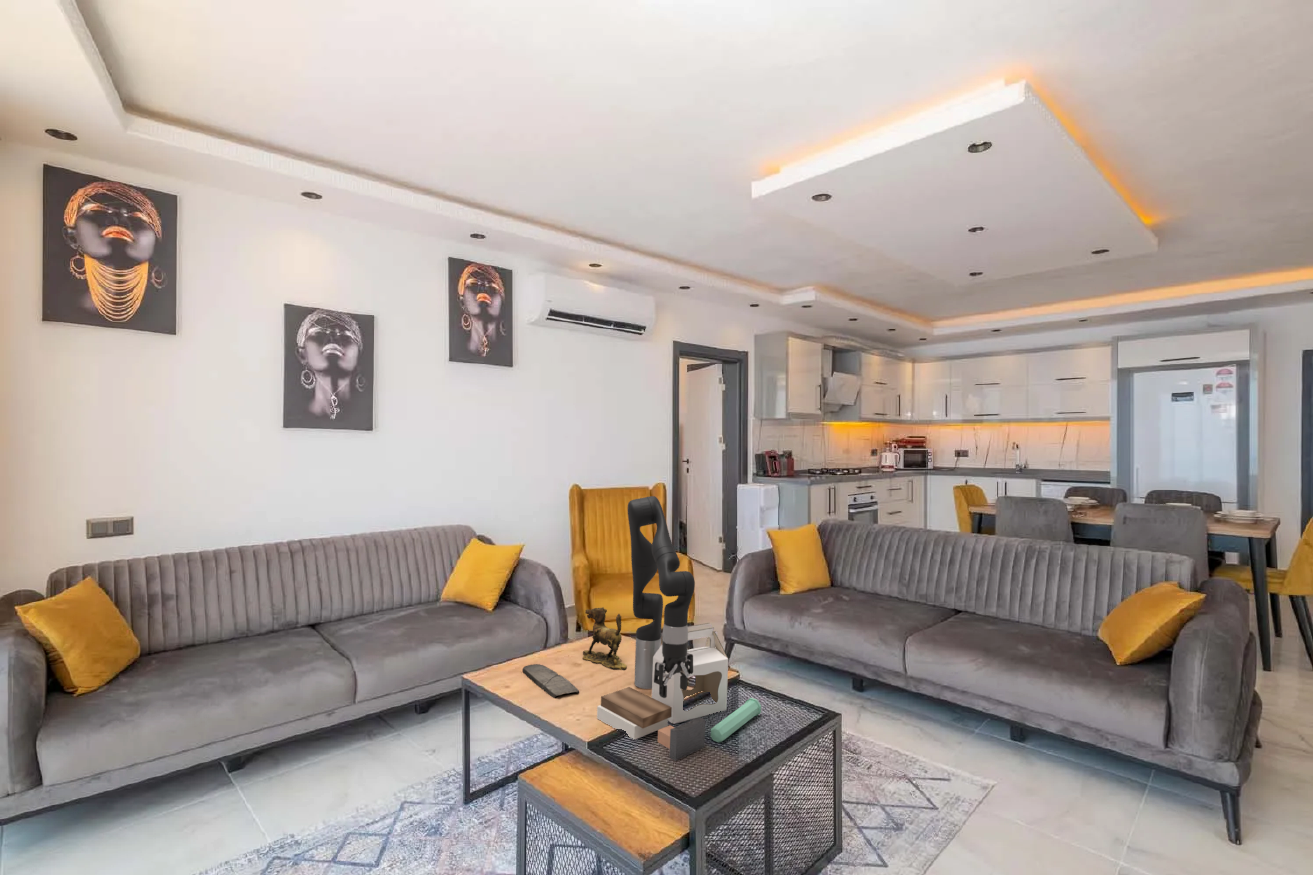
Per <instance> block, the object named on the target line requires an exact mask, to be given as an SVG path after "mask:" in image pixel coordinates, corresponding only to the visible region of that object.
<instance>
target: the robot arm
mask: <svg viewBox="0 0 1313 875" xmlns="http://www.w3.org/2000/svg"><path fill="white" fill-rule="evenodd" d="M627 517H628V519H627V520H628V527H629V533H630V550H631V552H630V553H631V555H630V556H631V557H630V559H631V560H630V561H631V573H632V586H633V587H632V613H633V615H634V617H636V618H637V619H641V620H643V619H644V620H652V621H651V622H650V623H648V624H645V625H642V626H639V627H638V628H637V629H636V631H635V654H634V655H635V658H634V686H636V687H637V688H638V689H639V688H640V689H644V690H652V674H653V656H654V655H655V653H656V652H657V650H658V649H659V648H660V646H661V645H662V654H663V656H664V660H663V662H662V663H658V662H656V663H655V671H654V683H656V684H659V695H660V696H661V697H663V698H666V697H667V682H668V680H669V679H671V677H672V675H674V674H676V673H680V674H681V675H682V676H680V688H681V689H683V690H688V683H689V682H688V680H689V677H690V676H689V674H692V673H693V655H692V654H689V653H687V650H688V644H689V643H688V641H689V640H688V626H689V625H688V622H689V621H688V619H689V618H688V617H689V615H688V614H689V609H690V606H691V602H692V598H693V596H694V595H693V594H694V591H695V587H696V582H695V577H694V575H693V574H692V573H691V572H690V571H687V570H683V571H677V570H679V568H680V566H681V562H680V558H679V557H678V554H677V552H676V550H675V547H674V544H673V543H672V540H671V536H670V532H669V528H668V525H667V524H668V523H667V520H666V517H665V514H664V510H663V508H662V505H661V502H660V500H659V498H658V497H656V496H654V495H651V496H646V497H640V498H635V499H631V500H630V501H629V502H628V504H627ZM654 524H656V531H655V533H654V537H653V540H652V542H650V540H648V539H647V537H646V536H645V535H644V534H643V533H642V531H641V528H642V527H645V526H650V525H654ZM657 573H658V585H659V586H658V588H659V591H660V592H661V593H662V594H660V593H654V592H653V593H652V592H643V591H644V589H645V588H646V586H647V585H648V584H649V583H650V582H651V581H652V580H653V578H654V577H655V575H656V574H657ZM662 595H664V596H665V597H668V598H669V597H676V599H675V600H673V601H672V602H669V603H667V604H666V605H664V597H663V596H662ZM663 608H664V610H663ZM662 620H663V621H662ZM662 622H663V627H662ZM684 663H685V665H684ZM688 666H689V668H688ZM665 672H667V673H669V674H665ZM658 676H659V679H658ZM664 677H666V678H665V680H664V681H663V679H664Z"/></svg>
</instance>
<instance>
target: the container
mask: <svg viewBox="0 0 1313 875" xmlns="http://www.w3.org/2000/svg"><path fill="white" fill-rule="evenodd" d="M761 713H762V705H761V703H760V701H759V699H758V698H757V699H756V698H753V697H749V698H748V699H747V700H746V701H745V703H744V704H742V705H741V706H740V707H738V708H737V709H736V710H734V711H733V712H732V713H730V714H729V715H728V716H725V718H723V719H722V720H721V721H720V722H718V723H716V724H715V725H714V726H713V727H711V728H710V737H711V739H712V740H713V742H717V743H722V742H723V741H725V740H726V739H728V738H729V737H730V736H731V735H732V734H733V733H735V732H736V731H737V730H739V729H740V728H742V726H744V725H745V724H746V723H747V722H749V721H750V720H752V719H753V718H754V717H757V716H758V715H760V714H761Z"/></svg>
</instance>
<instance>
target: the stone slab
mask: <svg viewBox="0 0 1313 875" xmlns="http://www.w3.org/2000/svg"><path fill="white" fill-rule="evenodd" d="M522 672H523V674H524V675H525V676H526V677H527V679H529V680H530V681H532V683H534V684H535V686H537V687H538V688H540V689H541V690H542V691H544V692H545V693H546V694H548V696H550V697H551V698H553V699H556V697H557V696H561V695H564V694H570V693H578V694H580V690H579V688H578V687H576V686H575V685H574V684H573V683H572V682H571V681H569V680H568V679H567V678H566V677H564V676H563V675H561V674H558V673H557V672H556V671H554V670H553V669H551V668H549V667H547V666H545V665H544V664H540V663H533V664H528V665H525V666H523V668H522Z"/></svg>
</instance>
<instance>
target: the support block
mask: <svg viewBox="0 0 1313 875" xmlns="http://www.w3.org/2000/svg"><path fill="white" fill-rule="evenodd" d="M675 727H676V726H672V725H668V726H666V727H664V728H661V729H659V730H657V743H659V745H662V746H664V747H666V748H667V749H669V750H670V729H673V728H675Z"/></svg>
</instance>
